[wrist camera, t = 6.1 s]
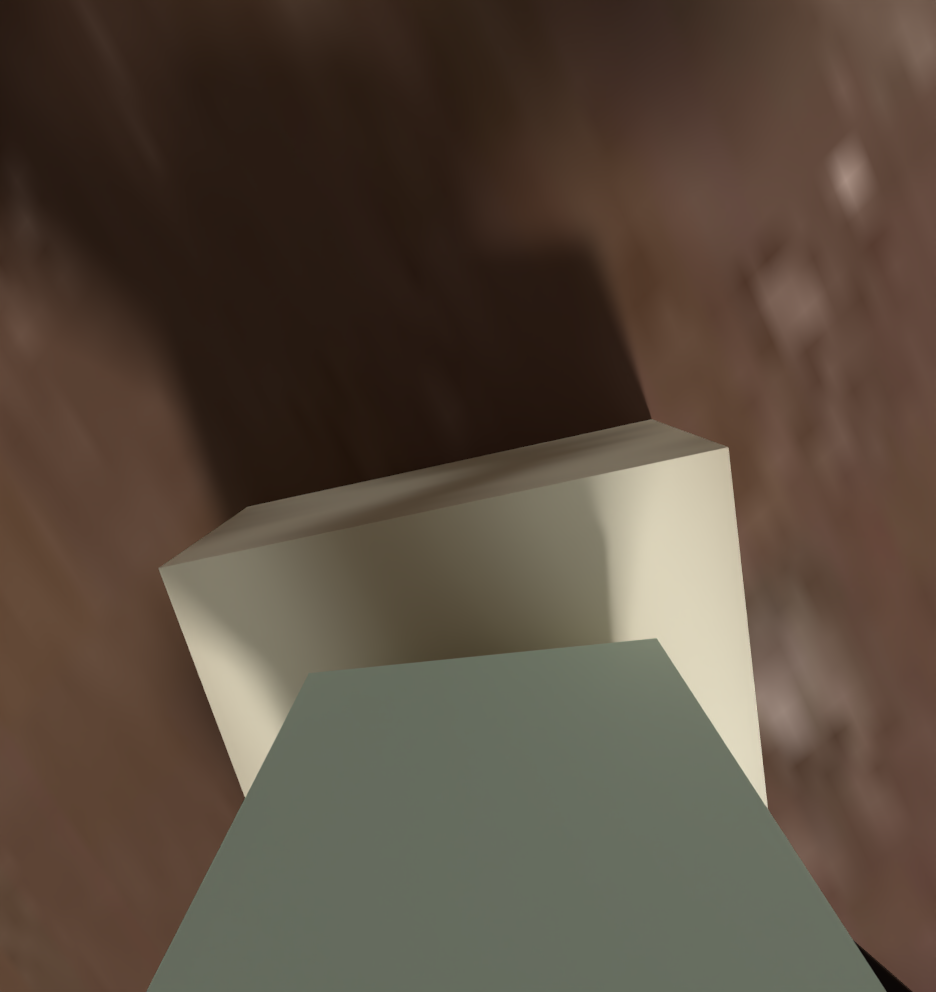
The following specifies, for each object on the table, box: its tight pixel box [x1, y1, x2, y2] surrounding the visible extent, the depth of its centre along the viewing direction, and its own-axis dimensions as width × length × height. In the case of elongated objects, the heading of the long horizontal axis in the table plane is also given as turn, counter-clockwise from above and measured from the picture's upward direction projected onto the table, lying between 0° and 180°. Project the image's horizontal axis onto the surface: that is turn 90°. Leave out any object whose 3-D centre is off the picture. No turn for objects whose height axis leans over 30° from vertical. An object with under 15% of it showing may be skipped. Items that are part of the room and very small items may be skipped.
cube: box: [146, 638, 886, 992], centre depth 6 cm, size 5×5×5 cm
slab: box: [159, 419, 768, 809], centre depth 12 cm, size 9×9×4 cm
